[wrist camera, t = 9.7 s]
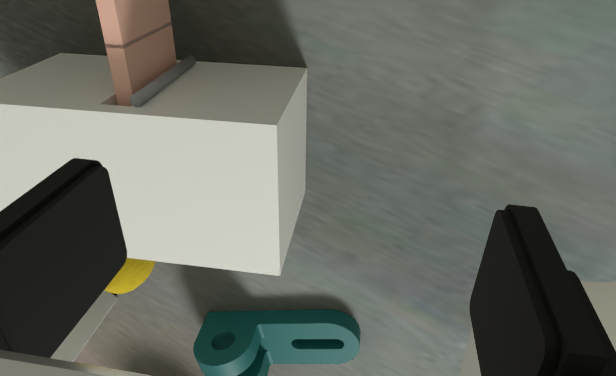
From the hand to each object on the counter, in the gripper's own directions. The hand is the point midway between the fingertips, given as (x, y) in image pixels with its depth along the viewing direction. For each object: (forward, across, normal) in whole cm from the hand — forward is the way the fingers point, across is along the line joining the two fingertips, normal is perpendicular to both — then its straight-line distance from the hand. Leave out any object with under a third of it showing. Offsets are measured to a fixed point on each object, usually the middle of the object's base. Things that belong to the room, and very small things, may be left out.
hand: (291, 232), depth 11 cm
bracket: (+28, +6, +36) cm, 46 cm away
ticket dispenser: (+28, +15, +10) cm, 33 cm away
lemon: (+28, +22, +24) cm, 43 cm away
